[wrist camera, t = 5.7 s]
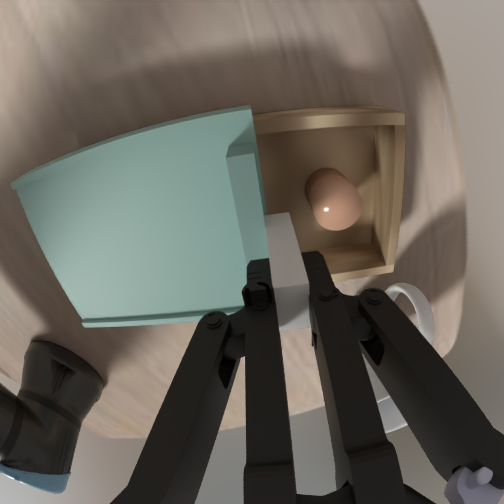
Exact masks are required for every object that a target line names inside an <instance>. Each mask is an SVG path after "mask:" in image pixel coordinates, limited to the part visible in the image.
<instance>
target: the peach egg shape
mask: <svg viewBox="0 0 504 504" xmlns="http://www.w3.org/2000/svg"><path fill="white" fill-rule="evenodd" d="M305 196H306V198H307V201H308V203H309V205H310V207H311V209H312V211H313V213H314V216H315V218H316V220H317V221H318V223H319V224H320V225H321V226H322V227H324V228H326V229H329V230H335V231H337V230H343V229H346V228H348V227H350V226H351V225H353V224H354V223H355V222H356V221H357V220H358V218H359V217H360V215H361V212H362V208H363V201H362V197H361V195H360V193H359V192H358V191H357V189H356V188H355V187H354V186H353V185H352V184H351V183H350V182H349V181H348V179H347V178H346V177H345V176H344V175H343V174H342V173H341V172H340V171H338V170H336V169H334V168H321V169H318V170H316V171H315V172H313V173H312V174H311V175H310V176H309V178H308V179H307V181H306V183H305Z"/></svg>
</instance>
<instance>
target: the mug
mask: <svg viewBox="0 0 504 504" xmlns="http://www.w3.org/2000/svg"><path fill="white" fill-rule="evenodd" d="M401 292H402V293H404V294H405V295H406V296H407V297H408V298H409V299H410V301H411V302H412V304H413V306H414V308H415V311H416V314H417V317H418V323H419V331H420V332H421V334H422V335H423V336H424V337H425V338H426V340H427V341H428V342H429V343H430V344H431V346H432V345H433V342H434V336H435V322H434V316H433V312H432V309H431V306H430V304H429V302H428V300H427V298H426V297H425V296H424V294H423V293H422V292H421V291H420V290H419V289H418V288H416V287H415V286H413V285H411V284H408V283H395V284H393V285H391V286H390V287H388V288H387V289H386V290H385V293H386V294H387V295H388V296H389V297H390V298H391V299H392V300H393V301H395V299H396V297H397V296H398V295H399V294H400V293H401ZM409 320H410V319H409ZM410 321H411V320H410ZM411 322H412V321H411ZM413 324H414V323H413ZM415 327H416V326H415ZM416 328H417V327H416ZM362 355H363V354H362ZM363 358H364V361H365V364H366V368H367V371H368V374H369V377H370V381H371V384H372V387H373V391H374V394H375V397H376V401H377V404H378V408H379V412H380V415H381V419H382V423H383V426H384V430H385V433H387V432H391V431H394V430H396V429H399V428H401V427H403V426H406V425H408V424H407V422H406V421H405V419H404V418H403V416H402V414H401V413H400V411H399V410H398V408H397V406H396V405H395V403H394V402H393V400H392V398H391V397H390V395H389V394H388V392H387V391H386V389H385V387H384V386H383V384H382V383H381V381H380V380H379V378H378V377H377V375H376V374H375V372H374V371H373V369H372V367H371V366H370V364H369V363H368V361H367V360H366V358H365V357H364V355H363Z"/></svg>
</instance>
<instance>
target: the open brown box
mask: <svg viewBox="0 0 504 504" xmlns="http://www.w3.org/2000/svg"><path fill="white" fill-rule="evenodd" d="M252 117H253V124H254V130H255V136H256V143H257V149H258V155H259V162H260V169H261V175H262V182H263V189H264V196H265V203H266V209H267V215H272V214H279V213H287V212H289V214H290V218H291V221H292V224H293V228H294V231H295V235H296V238H297V241H298V245H299V248H300V252H301V253H302V252H310V251H319V252H320V253H321V254H322V255H323V256H324V259H325V261H326V264H327V266H328V269H329V272H330V274H331V277H332V280H333V282H337V281H343V280H349V279H356V278H362V277H367V276H373V275H379V274H385V273H390V272H393V270H394V264H395V258H396V251H397V244H398V237H399V229H400V220H401V210H402V198H403V184H404V165H405V114H404V113H401V112H398V111H394V110H391V109H387V108H384V107H380V106H337V107H319V108H305V109H294V110H284V111H275V112H267V113H260V114H252ZM321 168H334V169H336V170H338V171H340V172H341V173H342V174H343V175H344V176H345V177H346V178H347V179H348V181H349V182H350V183H351V184H352V185H353V186H354V187H355V188H356V189H357V191H358V192H359V193H360V195H361V197H362V201H363V208H362V212H361V215H360V217H359V218H358V220H357V221H356V222H355V223H354V224H353V225H351V226H350V227H348V228H346V229H343V230H337V231H335V230H329V229H326V228H324V227H322V226H321V225H320V224H319V223H318V221H317V220H316V218H315V216H314V213H313V211H312V209H311V207H310V205H309V203H308V201H307V198H306V196H305V183H306V181H307V179H308V178H309V176H310V175H311V174H312V173H313V172H315V171H316V170H318V169H321Z"/></svg>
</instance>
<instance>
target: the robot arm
mask: <svg viewBox="0 0 504 504" xmlns="http://www.w3.org/2000/svg"><path fill="white" fill-rule="evenodd" d="M264 220H265V228H266V236H267V244H268V252H269V258H264V259H256V260H250V262H249V263H248V265H247V267H246V268H247V284H246V285H245V286H244V287H243V289H242V292H241V293H242V297H243V301H244V305H245V306H244V307H243V308H242V309H240V310H239V311H237V312H235V313H233V314H230V315H227V314H225V313H224V312H221V311H212V312H210V313H207V314H206V315H204V316H203V317H202V318H201V319H200V321H199V323H198V325H197V327H196V329H195V332H194V334H193V336H192V338H191V340H190V343H189V345H188V347H187V349H186V352H185V354H184V356H183V358H182V360H181V363H180V365H179V367H178V369H177V372H176V374H175V376H174V378H173V381H172V383H171V385H170V387H169V390H168V392H167V394H166V397H165V399H164V401H163V403H162V406H161V408H160V410H159V413H158V415H157V417H156V419H155V422H154V424H153V426H152V429H151V431H150V433H149V436H148V438H147V440H146V443H145V445H144V447H143V450H142V452H141V454H140V457H139V459H138V462H137V464H136V466H135V469H134V471H133V474H132V476H131V478H130V481H129V483H128V486H127V487H126V488H125V489H124V490H123V491H122V492H121V493H120V494H119V495H118V496H117V497H116V498H115V499H114V500H113V501H112V502H111V503H110V504H194V503H195V500H196V498H197V495H198V492H199V489H200V486H201V483H202V480H203V477H204V473H205V471H206V467H207V465H208V462H209V459H210V455H211V452H212V449H213V446H214V443H215V440H216V437H217V434H218V430H219V427H220V424H221V421H222V418H223V415H224V411H225V408H226V405H227V402H228V399H229V395H230V392H231V389H232V386H233V382H234V379H235V376H236V372H237V369H238V366H239V363H240V358H241V357H244V356H245V389H246V454H247V455H246V465H245V467H244V479H243V480H244V504H436V503H434V502H432V501H431V500H429V499H428V498H426V497H425V496H423V495H422V494H420V493H419V492H417V491H416V490H414V489H413V488H411V487H410V486H408V485H406V484H404V483H403V479H402V475H401V470H400V466H399V462H398V458H397V454H396V450H395V448H394V446H393V444H392V443H391V442H389V441H388V439H387V437H386V434H385V430H384V426H383V423H382V419H381V415H380V412H379V408H378V404H377V401H376V397H375V394H374V391H373V387H372V384H371V381H370V377H369V374H368V371H367V368H366V364H365V361H364V358H363V355H364V357H365V358H366V360H367V361H368V363H369V364H370V366H371V367H372V369H373V371H374V372H375V374H376V375H377V377H378V378H379V380H380V381H381V383H382V384H383V386H384V387H385V389H386V391H387V392H388V394H389V395H390V397H391V398H392V400H393V402H394V403H395V405H396V406H397V408H398V410H399V411H400V413H401V414H402V416H403V418H404V419H405V421H406V422H407V424H408V426H409V427H410V429H411V430H412V432H413V433H414V435H415V437H416V439H417V440H418V442H419V444H420V445H421V447H422V448H423V450H424V452H425V453H426V455H427V457H428V459H429V460H430V462H431V463H432V465H433V466H434V468H435V469H436V471H437V472H438V473H439V474H440V475H441V476H442V477H443V478H444V479H445V480H446V481H447V485H446V488H445V492H444V494H445V497H446V498H447V499H448V500H449V502H450V504H498V502H499V500H500V499H501V497H502V496H503V494H504V435H503V434H502V433H500V432H499V431H497V430H496V429H494V428H493V426H492V425H491V423H490V422H489V421H488V419H487V418H486V416H485V415H484V413H483V412H482V411H481V409H480V408H479V407H478V405H477V404H476V402H475V401H474V400H473V398H472V397H471V395H470V394H469V393H468V391H467V390H466V389H465V387H464V386H463V385H462V383H461V382H460V381H459V379H458V378H457V377H456V376H455V374H454V373H453V372H452V371H451V369H450V368H449V367H448V365H447V364H446V363H445V362H444V360H443V359H442V358H441V357H440V355H439V354H438V353H437V352H436V350H435V349H434V348H433V347H432V346H431V344H430V343H429V342H428V341H427V340H426V338H425V337H424V336H423V335H422V334H421V332H420V331H419V330H418V329H417V328H416V327H415V325H414V324H413V323H412V322H411V321H410V320H409V318H408V317H407V316H406V315H405V314H404V313H403V312H402V310H401V309H400V308H399V307H398V306H397V305H396V304H395V302H394V301H393V300H392V299H391V298H390V297H389V296H388V295H387V294H386V293H385V292H384V291H382V290H380V289H376V288H370V289H366V290H364V291H363V292H362V293H361V294H360V296H349V295H345V294H342V293H341V292H340V291H339V289H337V288H336V287H335V285H334V283H333V280H332V277H331V274H330V272H329V269H328V266H327V264H326V261H325V259H324V256H323V255H322V254H321V253H320V252H319V251H310V252H302V253H301V252H300V248H299V245H298V241H297V238H296V235H295V231H294V228H293V224H292V221H291V218H290V214H289V212H287V213H279V214H272V215H265V216H264ZM310 324H311V328H312V346H314V350H315V355H316V360H317V365H318V370H319V375H320V380H321V386H322V391H323V396H324V402H325V407H326V413H327V419H328V424H329V430H330V436H331V442H332V448H333V455H334V461H335V470H336V472H335V473H336V476H335V477H336V488H337V491H334V492H332V493H329V494H327V495H324V496H314V495H302V494H297V493H296V481H295V471H294V460H293V450H292V440H291V430H290V420H289V411H288V401H287V392H286V383H285V374H284V365H283V356H282V347H281V339H280V332H282V331H290V330H297V329H304V328H310ZM362 354H363V355H362ZM102 390H103V381H102V379H101V377H100V376H99V375H98V373H97V372H96V371H95V370H94V369H93V368H92V367H91V366H90V365H88V364H87V363H86V362H85V361H83V360H82V359H81V358H79V357H78V356H76V355H75V354H73V353H71V352H69V351H68V350H66V349H64V348H62V347H60V346H57V345H55V344H52V343H49V342H44V341H34V342H32V343H31V344H30V345H29V347H28V349H27V351H26V353H25V356H24V366H23V373H22V383H21V388H20V390H19V393H18V395H17V396H16V395H14V394H13V393H12V392H11V391H9V390H8V389H7V388H6V387H5V386H3V385H2V384H1V383H0V472H1V473H3V474H4V475H6V476H8V477H10V478H12V479H15V480H17V481H19V482H21V483H23V484H26V485H28V486H31V487H33V488H36V489H39V490H42V491H46V492H49V493H54V494H59V493H62V492H63V491H64V490H65V488H66V485H67V482H68V478H69V476H70V474H71V472H70V470H71V465H72V461H73V456H74V452H75V448H76V443H77V440H78V436H79V432H80V428H81V425H82V421H83V420H84V418H85V417H86V415H87V414H88V413H89V411H90V409H91V408H92V406H93V405H94V403H96V402H97V401H98V400H99V399H100V396H101V393H102Z"/></svg>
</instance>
